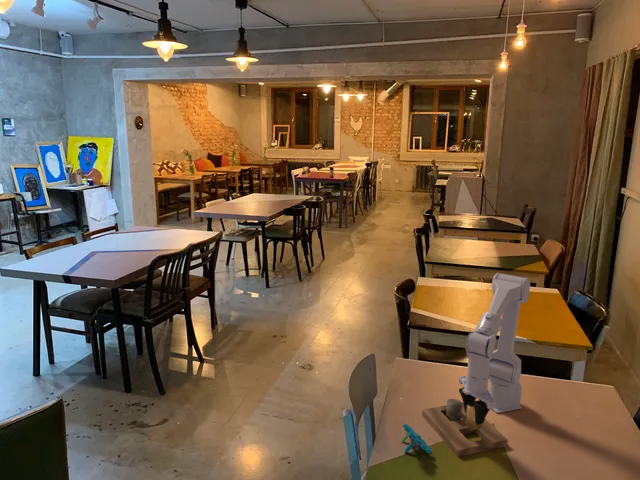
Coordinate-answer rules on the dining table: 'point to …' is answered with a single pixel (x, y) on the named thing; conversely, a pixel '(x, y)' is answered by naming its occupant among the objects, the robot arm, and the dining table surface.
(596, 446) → the dining table surface
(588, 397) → the dining table surface
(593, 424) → the dining table surface
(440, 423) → the walnut jig
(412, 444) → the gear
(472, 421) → the brass sleeve
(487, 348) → the robot arm
